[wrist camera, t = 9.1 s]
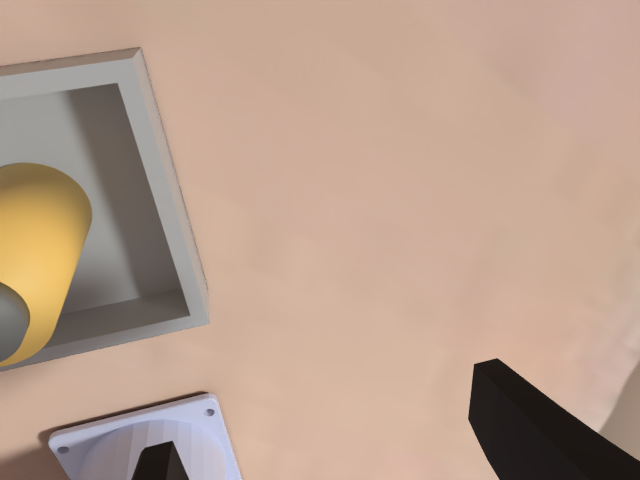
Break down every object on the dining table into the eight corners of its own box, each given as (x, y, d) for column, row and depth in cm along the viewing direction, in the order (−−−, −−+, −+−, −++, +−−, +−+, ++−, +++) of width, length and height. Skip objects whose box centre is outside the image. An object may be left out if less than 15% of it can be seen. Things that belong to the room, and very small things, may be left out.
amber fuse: (108, 237, 18) (77, 357, 12) (13, 265, 17) (-65, 402, 12) (63, 150, 16) (1, 247, 10) (-46, 179, 15) (-171, 296, 10)
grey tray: (207, 288, 21) (209, 323, 18) (-37, 340, 19) (-66, 386, 17) (140, 47, 15) (132, 57, 13) (-201, 93, 14) (-272, 114, 12)
